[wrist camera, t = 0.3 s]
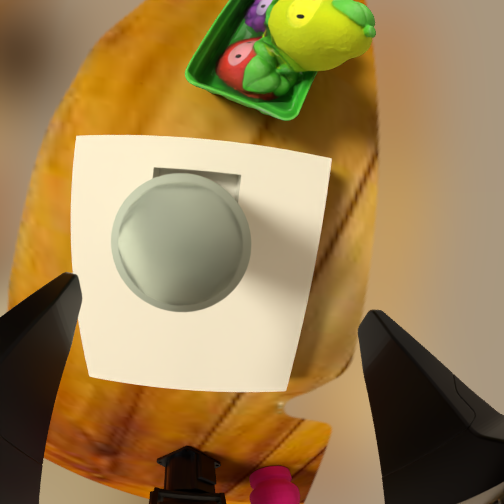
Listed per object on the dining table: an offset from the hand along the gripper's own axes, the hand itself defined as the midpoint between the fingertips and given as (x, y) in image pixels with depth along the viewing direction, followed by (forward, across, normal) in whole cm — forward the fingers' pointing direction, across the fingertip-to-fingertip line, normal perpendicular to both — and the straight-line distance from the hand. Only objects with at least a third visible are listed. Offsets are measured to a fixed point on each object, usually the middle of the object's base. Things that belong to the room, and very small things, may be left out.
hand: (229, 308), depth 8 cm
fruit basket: (+19, -2, -8) cm, 21 cm away
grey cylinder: (+14, +2, +4) cm, 14 cm away
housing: (+13, +2, +9) cm, 16 cm away
